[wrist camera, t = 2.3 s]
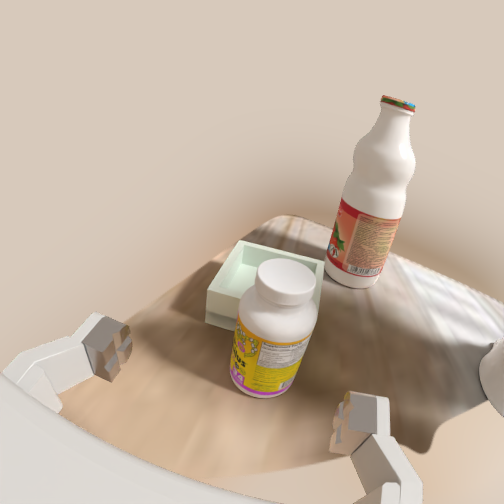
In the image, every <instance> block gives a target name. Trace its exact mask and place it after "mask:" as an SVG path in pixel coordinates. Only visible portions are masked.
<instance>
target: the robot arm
mask: <svg viewBox="0 0 504 504" xmlns="http://www.w3.org/2000/svg"><path fill="white" fill-rule="evenodd" d="M129 334H130V328H129V326H128V325H125V324H123V323H121V322H118V321H116V320H114V319H112V318H109V317H107V316H105V315H103V314H100V313H98V312H94V313H92V314H91V315H90V316H89V317H88V318H87V319H86V320H85V321H84V322H83V324H82V325H81V326H80V327H79V328H78V329H77V330H76V331H75V332H74V333H73V335H72V336H71V337H69V336H66V337H63V338H60V339H57V340H54V341H51V342H49V343H46V344H43V345H40V346H37V347H34V348H31V349H28V350H26V351H23V352H20V353H19V354H18V355H17V356H16V357H15V358H14V360H13V361H12V362H11V363H10V364H9V365H8V366H7V367H6V369H5V370H4V371H3V372H2V373H1V372H0V504H282V503H277V502H272V501H268V500H263V499H259V498H255V497H251V496H247V495H243V494H239V493H236V492H232V491H228V490H224V489H221V488H218V487H215V486H212V485H208V484H206V483H203V482H200V481H197V480H194V479H191V478H188V477H185V476H183V475H180V474H177V473H175V472H172V471H169V470H167V469H164V468H162V467H160V466H157V465H155V464H152V463H150V462H148V461H145V460H143V459H141V458H139V457H137V456H134V455H132V454H130V453H128V452H126V451H124V450H122V449H120V448H118V447H116V446H114V445H112V444H110V443H108V442H106V441H104V440H102V439H100V438H98V437H97V436H95V435H93V434H91V433H89V432H88V431H86V430H84V429H82V428H81V427H79V426H77V425H75V424H74V423H72V422H70V421H69V420H67V419H66V418H64V417H62V416H61V415H59V414H58V413H59V412H60V410H61V409H62V408H63V404H62V402H61V400H60V399H59V397H58V394H59V393H61V392H63V391H65V390H67V389H69V388H71V387H73V386H75V385H77V384H79V383H81V382H83V381H84V380H86V379H88V378H90V377H92V376H94V375H96V376H99V377H101V378H103V379H105V380H107V381H110V382H113V380H114V379H115V377H116V376H117V374H118V373H119V372H120V365H121V364H123V363H126V362H127V360H128V359H129V357H130V354H131V352H132V340H131V339H130V337H129V336H128V335H129ZM479 375H480V381H481V384H482V387H483V390H484V392H485V394H486V396H487V398H488V399H489V401H490V403H491V404H492V405H493V407H494V408H495V409H496V410H497V411H498V412H499V413H500V414H501V415H502V416H503V417H504V337H503V338H502V339H498V340H497V341H496V342H495V343H494V345H493V348H492V350H491V351H490V352H489V353H487V354H486V355H485V356H484V357H483V358H482V360H481V363H480V367H479ZM332 427H333V428H334V430H335V432H334V433H333V434H332V436H331V439H330V447H329V452H333V453H338V454H344V455H350V458H351V460H352V462H353V464H354V467H355V469H356V471H357V474H358V476H359V478H360V480H361V483H362V485H363V487H364V489H365V492H366V494H367V495H366V496H364V497H363V498H361V499H359V500H358V501H356V502H355V503H353V504H423V482H422V481H421V479H420V477H419V476H418V474H417V473H416V471H415V469H414V468H413V466H412V465H411V463H410V462H409V460H408V458H407V457H406V455H405V454H404V452H403V451H402V449H401V447H400V446H399V444H398V443H397V441H396V440H395V438H394V437H392V436H390V407H389V399H388V398H387V397H381V396H374V395H371V394H365V393H359V392H353V391H348V392H347V393H346V394H345V396H344V401H343V402H341V403H339V405H338V407H337V409H336V411H335V414H334V418H333V424H332Z"/></svg>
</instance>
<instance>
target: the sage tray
mask: <svg viewBox="0 0 504 504" xmlns="http://www.w3.org/2000/svg"><path fill="white" fill-rule="evenodd" d="M277 258H283V259H290V260H294V261H297V262H299V263H301V264H303V265H305V266H307V267H308V268H309V269H310V270H311V271H312V272H313V273H314V275H315V277H316V285H315V289H314V293H313V296H312V299H313V301H314V303H315V305H316V309H317V317H318V310H319V303H320V296H321V289H322V281H323V274H324V266H325V261H321V260H317V259H313V258H309V257H305V256H301V255H297V254H294V253H290V252H286V251H282V250H278V249H274V248H270V247H266V246H262V245H258V244H254V243H250V242H246V241H242V240H239V241H238V243H237V244H236V246H235V247H234V249H233V250H232V252H231V253H230V255H229V256H228V258H227V259H226V261H225V262H224V264H223V266H222V267H221V269H220V270H219V272H218V273H217V275H216V276H215V278H214V279H213V281H212V283H211V284H210V286H209V287H208V289H207V299H206V315H205V323H208V324H211V325H214V326H217V327H221V328H224V329H227V330H231V331H234V332H235V328H236V321H237V315H238V308H239V303H240V299H241V297H242V295H243V294H244V292H245V291H246V290H247V289H248V288H250V287H251V286H253V285H254V284H255V277H256V273H257V269H258V267H259V265H260V264H261V263H263V262H264V261H267V260H270V259H277ZM316 321H317V320H316ZM315 324H316V323H315ZM314 327H315V326H314ZM311 335H312V334H311ZM310 338H311V337H310ZM309 340H310V339H309ZM308 343H309V342H308ZM307 346H308V345H307ZM306 348H307V347H306ZM305 351H306V350H305Z"/></svg>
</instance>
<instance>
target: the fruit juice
mask: <svg viewBox="0 0 504 504" xmlns="http://www.w3.org/2000/svg"><path fill="white" fill-rule="evenodd" d="M380 106H381V113H380V115H379V118H378V120H377V122H376V123H375V125H374V127H373V128H372V130H371V131H370V132H369V133H368V134H367V135H366V136H364V137H363V138H362V139H361V140H360V141H359V142H358V143H357V145H356V147H355V150H354V156H353V162H354V168H353V172H352V173H351V175H350V176H349V177H348V179H347V181H346V184H345V187H344V190H343V194H342V198H341V202H340V206H339V210H338V213H337V217H336V221H335V224H334V228H333V232H332V235H331V239H330V242H329V246H328V249H327V252H326V256H325V260H324V261H325V266H324V267H325V270H326V272H327V273H328V275H329V276H330V277H331V278H333V279H334V280H335V281H337V282H339V283H341V284H343V285H345V286H348V287H352V288H368V287H371V286H372V285H374V284H375V283H376V281H377V279H378V278H379V275H380V273H381V270H382V268H383V265H384V263H385V260H386V258H387V255H388V252H389V250H390V247H391V244H392V242H393V239H394V236H395V233H396V231H397V228H398V225H399V222H400V219H401V216H402V214H403V210H404V207H405V203H406V187H407V185H408V183H409V182H410V180H411V178H412V177H413V175H414V172H415V167H416V159H415V156H414V153H413V150H412V148H411V144H410V132H409V127H410V119H411V117H412V116H413V115H414V112H415V105H413V104H411V103H408V102H405V101H402V100H399V99H396V98H392V97H388V96H385V95H383V96H382V98H381V104H380Z"/></svg>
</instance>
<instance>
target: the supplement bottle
mask: <svg viewBox="0 0 504 504" xmlns="http://www.w3.org/2000/svg"><path fill="white" fill-rule="evenodd" d="M315 285H316V277H315V275H314V273H313V272H312V271H311V270H310V269H309V268H308V267H307V266H305V265H303V264H301V263H299V262H297V261H294V260H290V259H283V258H277V259H270V260H267V261H264V262H263V263H261V264H260V265H259V267H258V269H257V273H256V277H255V284H254V285H253V286H251V287H250V288H248V289H247V290H246V291H245V292H244V294H243V295H242V297H241V299H240V303H239V308H238V315H237V321H236V328H235V334H234V341H233V347H232V354H231V361H230V375H231V378H232V380H233V382H234V383H235V385H236V386H237V387H238V388H239V389H240V390H241V391H243V392H244V393H246V394H248V395H250V396H253V397H257V398H271V397H275V396H278V395H280V394H282V393H284V392H285V391H286V390H287V389H288V388H289V387H290V386H291V384H292V382H293V380H294V378H295V376H296V373H297V371H298V368H299V366H300V363H301V360H302V358H303V355H304V353H305V350H306V347H307V345H308V342H309V339H310V337H311V334H312V332H313V329H314V326H315V323H316V320H317V309H316V305H315V303H314V301H313V299H312V296H313V293H314V289H315Z"/></svg>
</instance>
